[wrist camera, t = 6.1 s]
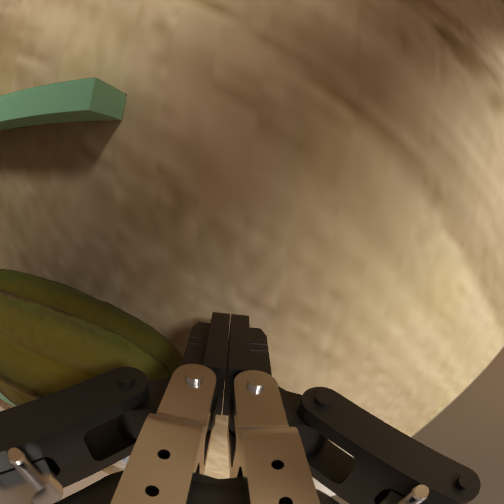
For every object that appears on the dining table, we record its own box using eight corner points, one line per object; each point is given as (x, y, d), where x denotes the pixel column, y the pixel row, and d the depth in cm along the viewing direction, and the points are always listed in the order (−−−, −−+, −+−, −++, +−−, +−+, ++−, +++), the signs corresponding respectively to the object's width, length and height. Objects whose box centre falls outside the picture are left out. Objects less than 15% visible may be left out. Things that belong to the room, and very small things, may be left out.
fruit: (80, 407, 15) (46, 474, 9) (-18, 261, 12) (-86, 302, 6) (218, 369, 14) (208, 476, 8) (95, 157, 11) (-12, 164, 5)
